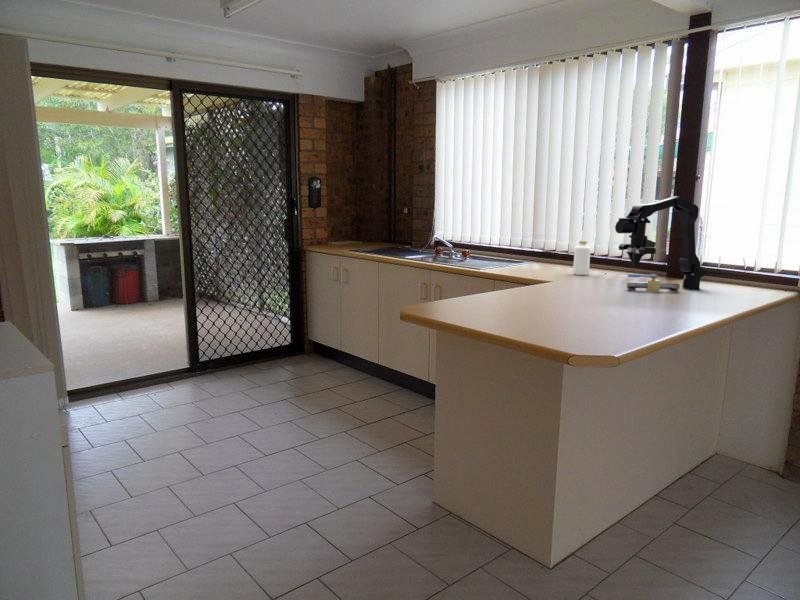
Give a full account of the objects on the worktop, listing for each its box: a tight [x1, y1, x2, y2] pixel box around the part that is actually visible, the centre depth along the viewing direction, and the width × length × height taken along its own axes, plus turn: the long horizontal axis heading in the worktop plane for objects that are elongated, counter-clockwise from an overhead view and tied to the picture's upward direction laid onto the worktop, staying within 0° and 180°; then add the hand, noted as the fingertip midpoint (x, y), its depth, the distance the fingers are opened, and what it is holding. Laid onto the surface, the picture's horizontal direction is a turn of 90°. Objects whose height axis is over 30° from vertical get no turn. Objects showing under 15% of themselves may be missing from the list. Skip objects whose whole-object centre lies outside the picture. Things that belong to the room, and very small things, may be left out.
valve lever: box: [627, 273, 658, 279], centre depth 260 cm, size 12×3×1 cm, turn 77°
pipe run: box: [626, 278, 680, 294], centre depth 259 cm, size 22×5×6 cm, turn 76°
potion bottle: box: [572, 240, 592, 276], centre depth 307 cm, size 8×8×18 cm
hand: (635, 267), depth 257 cm, fingers closed
